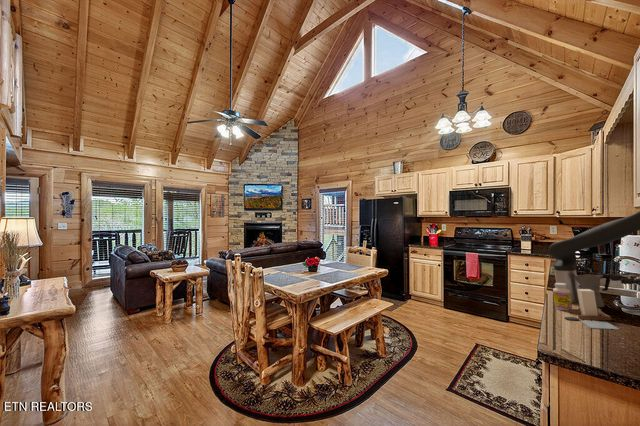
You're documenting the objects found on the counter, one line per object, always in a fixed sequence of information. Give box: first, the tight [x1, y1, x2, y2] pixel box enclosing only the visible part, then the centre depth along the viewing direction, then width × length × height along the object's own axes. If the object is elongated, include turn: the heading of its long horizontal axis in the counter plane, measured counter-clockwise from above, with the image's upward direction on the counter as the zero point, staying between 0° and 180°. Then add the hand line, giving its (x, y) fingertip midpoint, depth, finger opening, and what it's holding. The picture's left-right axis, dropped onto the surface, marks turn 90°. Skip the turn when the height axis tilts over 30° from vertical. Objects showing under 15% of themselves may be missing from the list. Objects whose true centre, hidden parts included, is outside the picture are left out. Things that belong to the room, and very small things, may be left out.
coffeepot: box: [573, 270, 611, 308], centre depth 144 cm, size 15×9×18 cm, turn 70°
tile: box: [579, 320, 620, 331], centre depth 116 cm, size 9×9×1 cm
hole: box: [564, 316, 580, 322], centre depth 126 cm, size 5×5×1 cm
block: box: [577, 288, 599, 316], centre depth 129 cm, size 4×4×12 cm
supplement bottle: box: [552, 282, 573, 311], centre depth 141 cm, size 7×7×13 cm
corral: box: [568, 308, 612, 321], centre depth 128 cm, size 11×11×2 cm
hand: (616, 279), depth 125 cm, fingers open, 8 cm apart
